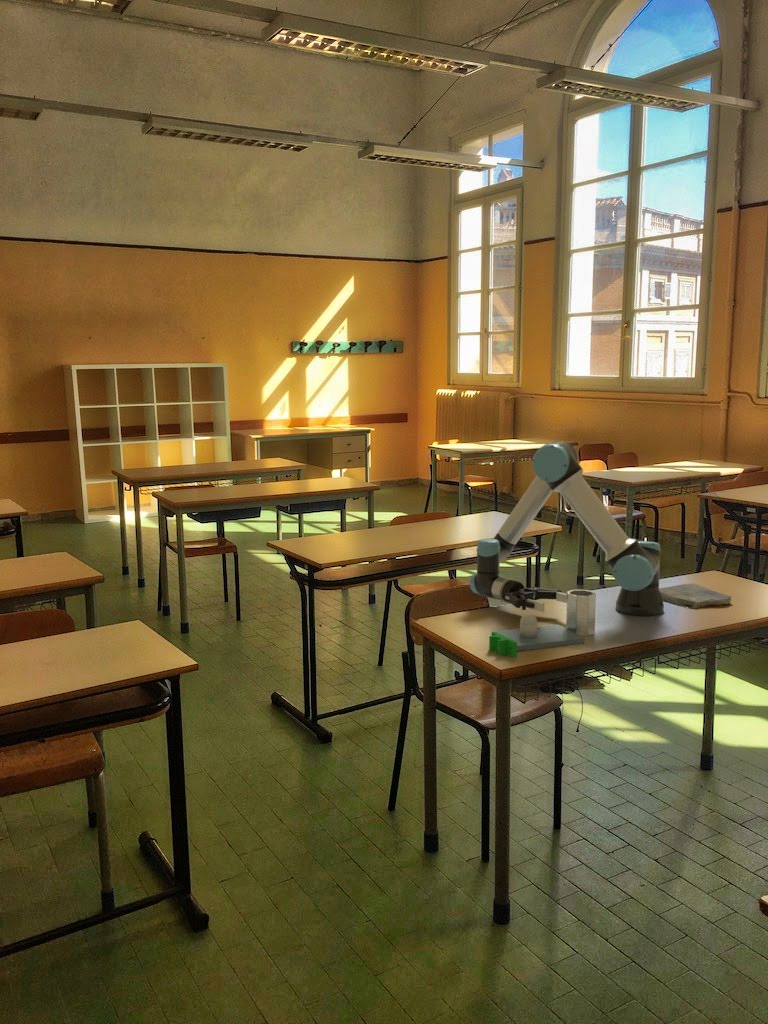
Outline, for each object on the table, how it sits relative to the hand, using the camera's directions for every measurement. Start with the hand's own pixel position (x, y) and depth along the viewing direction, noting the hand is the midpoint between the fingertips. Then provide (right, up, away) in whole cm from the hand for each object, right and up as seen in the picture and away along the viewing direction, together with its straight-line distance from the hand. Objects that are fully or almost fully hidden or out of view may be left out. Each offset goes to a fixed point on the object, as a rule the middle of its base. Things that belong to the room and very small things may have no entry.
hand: (558, 603), depth 265 cm
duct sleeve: (+5, -8, -5) cm, 11 cm away
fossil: (+52, -3, +29) cm, 60 cm away
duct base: (-9, -9, -13) cm, 18 cm away
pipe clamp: (-21, -11, -24) cm, 34 cm away
